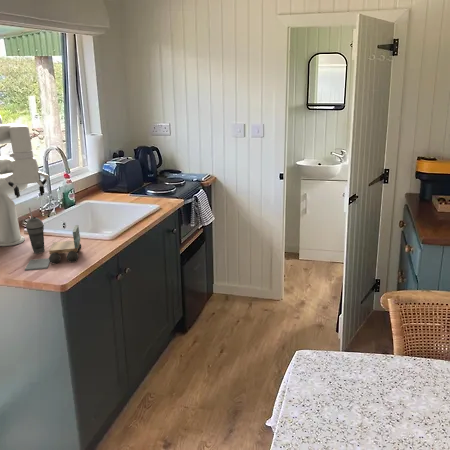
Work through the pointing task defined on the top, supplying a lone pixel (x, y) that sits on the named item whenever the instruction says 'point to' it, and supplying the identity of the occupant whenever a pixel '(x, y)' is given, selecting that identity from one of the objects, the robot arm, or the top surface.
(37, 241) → the beverage cup
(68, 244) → the trolley
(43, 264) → the mat
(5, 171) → the robot arm
